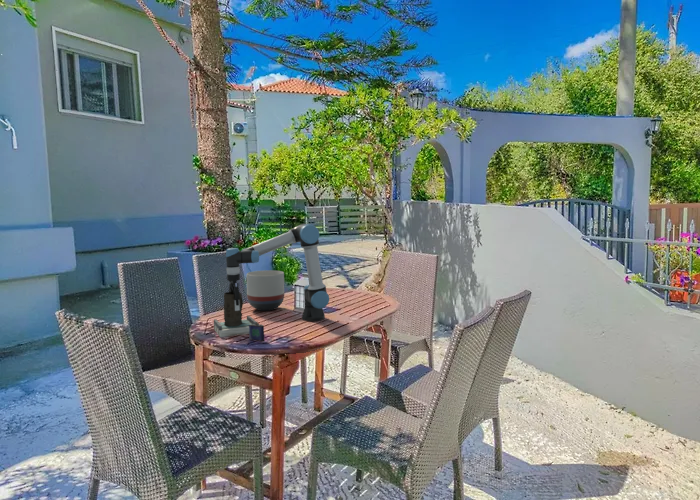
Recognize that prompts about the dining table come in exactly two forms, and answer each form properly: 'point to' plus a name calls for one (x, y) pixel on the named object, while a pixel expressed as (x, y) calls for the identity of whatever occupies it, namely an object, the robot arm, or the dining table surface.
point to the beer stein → (232, 310)
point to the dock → (233, 328)
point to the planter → (265, 289)
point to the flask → (256, 332)
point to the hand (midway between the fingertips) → (234, 308)
